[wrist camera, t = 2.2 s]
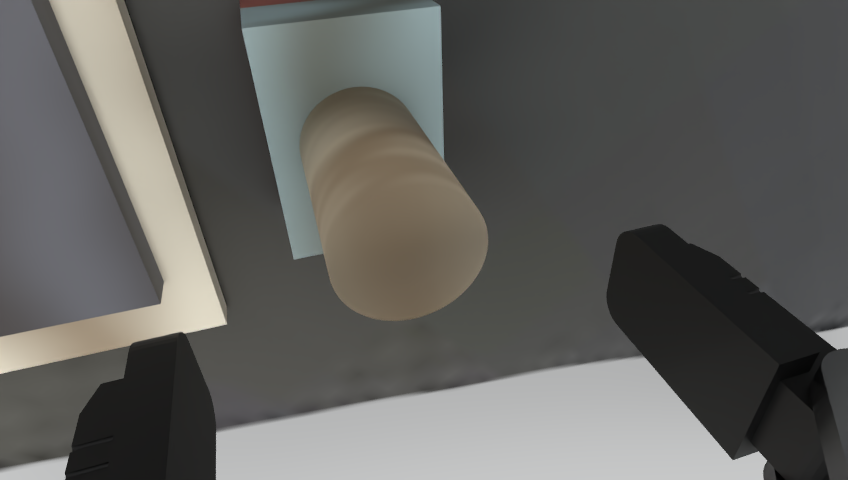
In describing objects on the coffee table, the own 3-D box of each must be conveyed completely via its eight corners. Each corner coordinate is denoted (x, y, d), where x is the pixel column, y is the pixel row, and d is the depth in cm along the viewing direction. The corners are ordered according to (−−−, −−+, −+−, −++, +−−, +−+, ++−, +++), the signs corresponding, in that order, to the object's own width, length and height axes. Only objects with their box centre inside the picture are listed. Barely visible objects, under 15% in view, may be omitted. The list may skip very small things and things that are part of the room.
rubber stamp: (407, -18, 17) (535, 74, 10) (417, 181, 21) (514, 348, 14) (239, -1, 16) (247, 115, 9) (285, 205, 20) (316, 398, 13)
